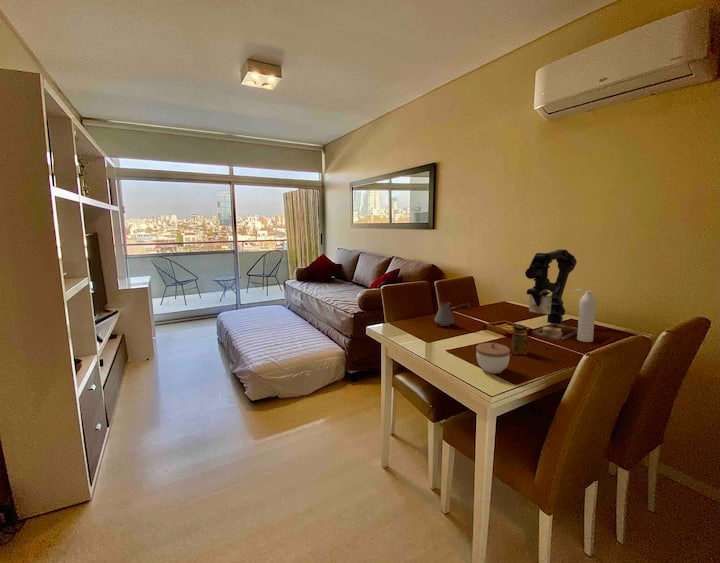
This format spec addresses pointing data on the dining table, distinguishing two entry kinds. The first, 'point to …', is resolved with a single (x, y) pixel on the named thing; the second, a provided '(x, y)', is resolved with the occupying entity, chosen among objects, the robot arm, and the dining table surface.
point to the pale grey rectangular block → (541, 305)
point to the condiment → (519, 339)
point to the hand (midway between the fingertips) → (539, 305)
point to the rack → (554, 336)
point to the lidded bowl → (492, 357)
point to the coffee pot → (446, 313)
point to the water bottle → (586, 317)
